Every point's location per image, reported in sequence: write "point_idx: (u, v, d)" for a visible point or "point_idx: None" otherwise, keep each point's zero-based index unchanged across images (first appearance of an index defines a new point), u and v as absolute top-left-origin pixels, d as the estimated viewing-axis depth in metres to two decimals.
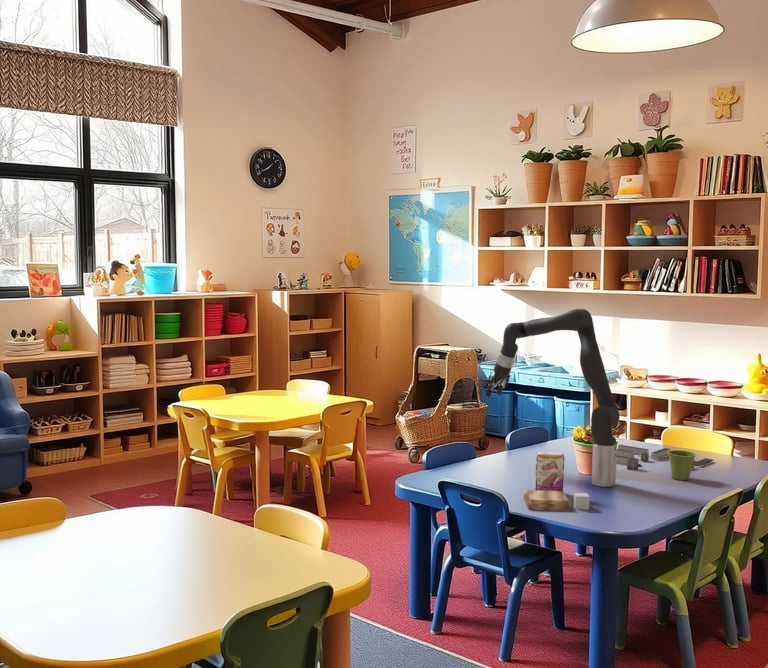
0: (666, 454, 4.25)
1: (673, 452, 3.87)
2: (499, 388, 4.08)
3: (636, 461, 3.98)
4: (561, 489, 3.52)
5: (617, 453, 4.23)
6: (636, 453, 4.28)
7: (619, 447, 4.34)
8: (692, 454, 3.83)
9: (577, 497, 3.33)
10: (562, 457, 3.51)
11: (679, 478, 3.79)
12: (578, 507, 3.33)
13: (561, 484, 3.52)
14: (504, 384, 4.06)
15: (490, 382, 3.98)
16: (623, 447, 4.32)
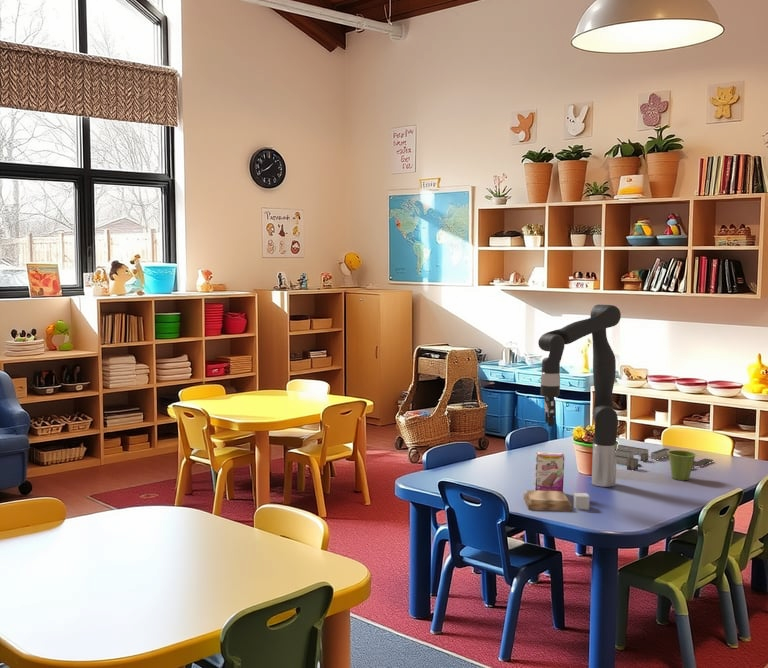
0: (666, 454, 4.25)
1: (673, 452, 3.87)
2: (547, 415, 3.57)
3: (636, 461, 3.98)
4: (561, 489, 3.52)
5: (617, 453, 4.23)
6: (635, 453, 4.28)
7: (619, 447, 4.34)
8: (692, 454, 3.83)
9: (577, 497, 3.33)
10: (562, 457, 3.51)
11: (679, 478, 3.79)
12: (578, 507, 3.33)
13: (561, 484, 3.52)
14: None
15: (553, 408, 3.46)
16: (623, 447, 4.32)
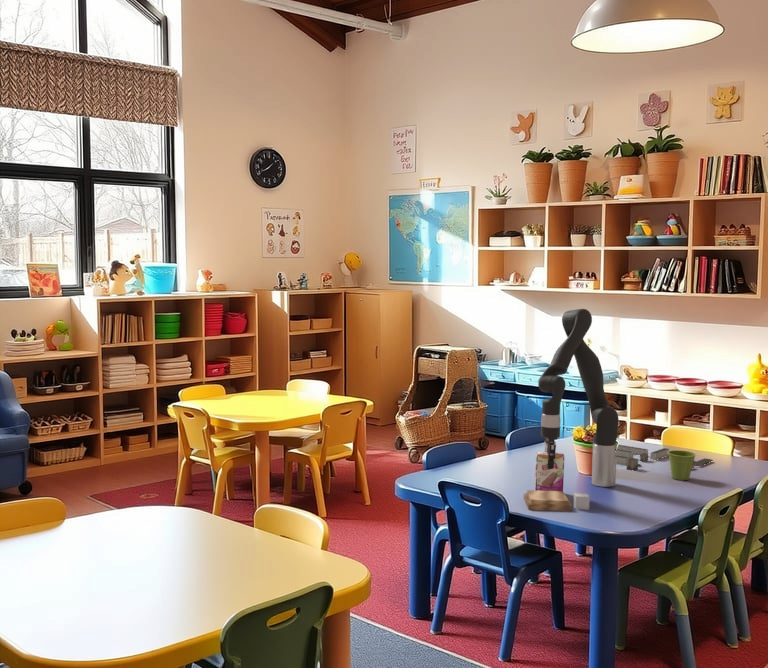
0: (665, 454, 4.25)
1: (673, 452, 3.87)
2: None
3: (636, 461, 3.98)
4: (561, 489, 3.52)
5: (616, 453, 4.23)
6: (635, 453, 4.28)
7: (618, 447, 4.34)
8: (692, 454, 3.83)
9: (577, 497, 3.33)
10: (562, 457, 3.51)
11: (679, 478, 3.79)
12: (578, 507, 3.33)
13: (561, 484, 3.52)
14: None
15: (553, 452, 3.47)
16: (622, 447, 4.32)
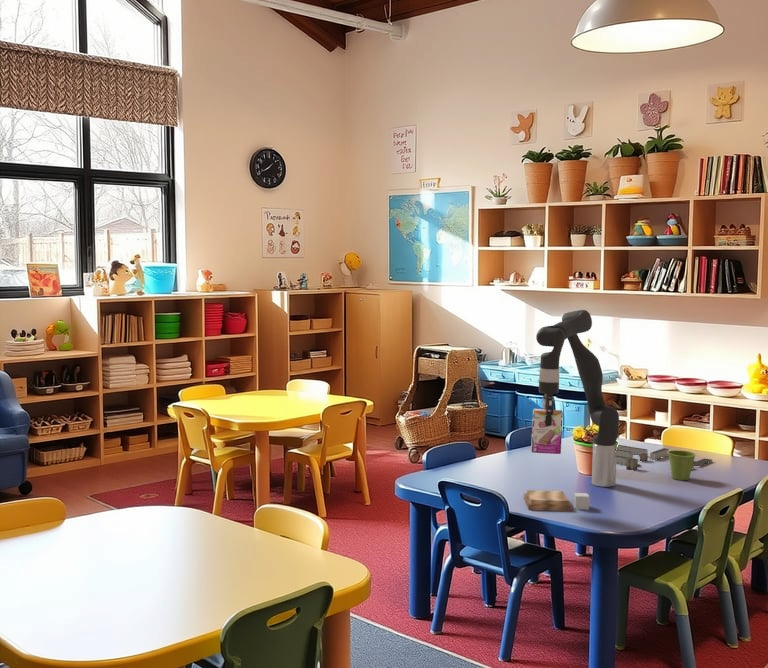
0: (665, 454, 4.25)
1: (673, 452, 3.87)
2: None
3: (635, 461, 3.98)
4: (559, 447, 3.36)
5: (616, 453, 4.23)
6: (635, 454, 4.28)
7: (618, 447, 4.34)
8: (692, 454, 3.83)
9: (577, 497, 3.33)
10: (560, 414, 3.35)
11: (679, 478, 3.79)
12: (578, 507, 3.33)
13: (559, 442, 3.35)
14: None
15: (551, 407, 3.31)
16: (622, 447, 4.32)
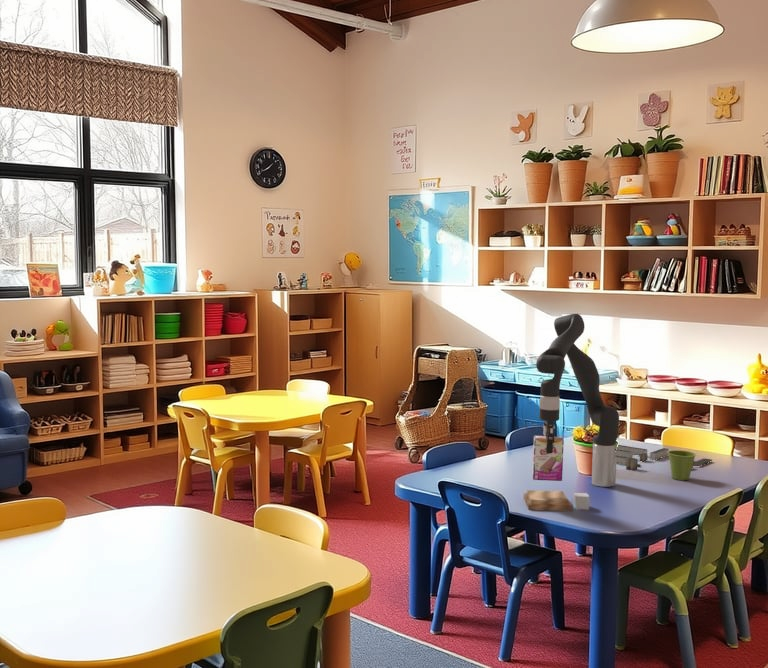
0: (665, 454, 4.25)
1: (673, 452, 3.87)
2: None
3: (635, 461, 3.98)
4: (560, 474, 3.36)
5: (616, 453, 4.23)
6: (634, 453, 4.28)
7: (618, 447, 4.33)
8: (692, 454, 3.83)
9: (577, 497, 3.33)
10: (561, 441, 3.35)
11: (679, 478, 3.79)
12: (578, 507, 3.33)
13: (560, 469, 3.36)
14: None
15: (552, 435, 3.31)
16: (622, 447, 4.32)
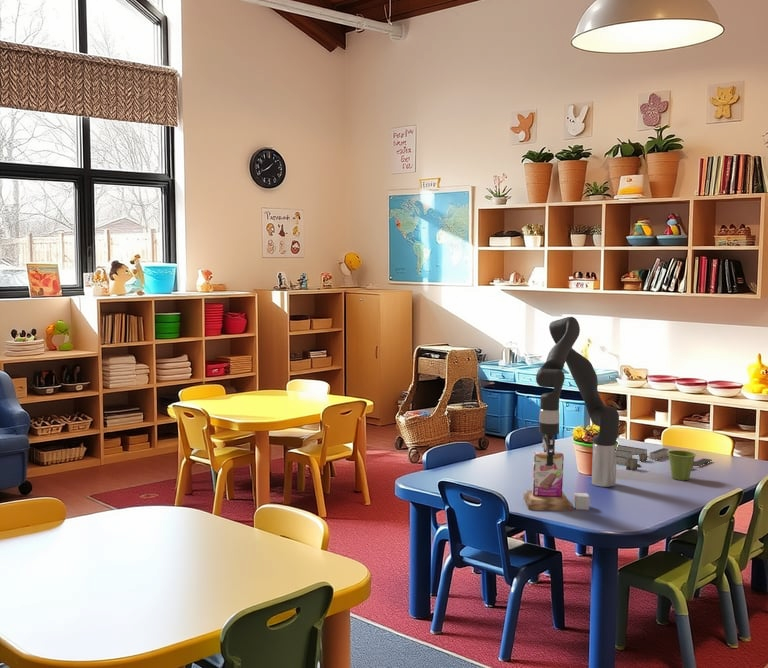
0: (664, 454, 4.25)
1: (673, 452, 3.87)
2: None
3: (635, 461, 3.98)
4: (560, 490, 3.36)
5: (615, 453, 4.23)
6: (634, 454, 4.28)
7: (617, 447, 4.33)
8: (692, 454, 3.83)
9: (577, 497, 3.33)
10: (561, 457, 3.35)
11: (679, 478, 3.79)
12: (578, 507, 3.33)
13: (560, 485, 3.36)
14: None
15: (552, 447, 3.30)
16: (621, 447, 4.32)
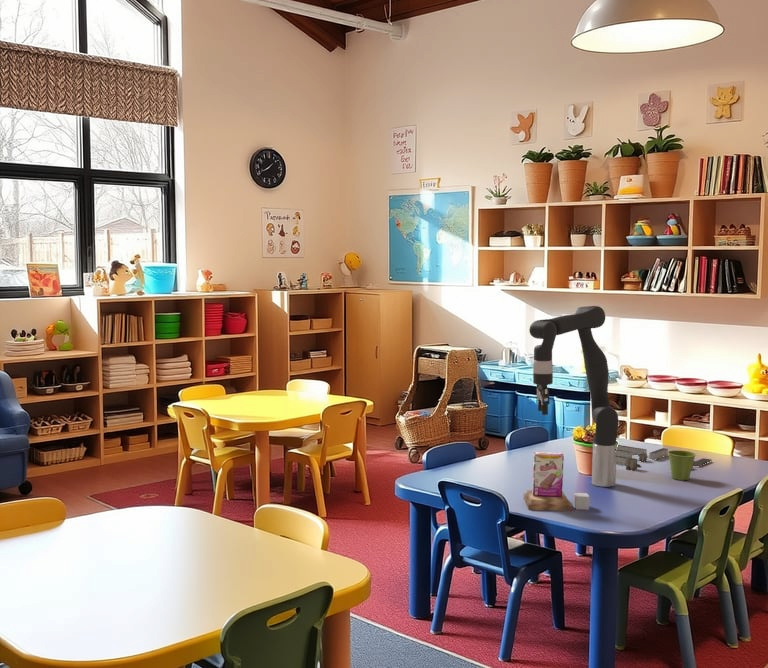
0: (664, 454, 4.25)
1: (673, 452, 3.87)
2: (540, 403, 3.51)
3: (635, 461, 3.98)
4: (560, 490, 3.36)
5: (615, 453, 4.23)
6: (634, 453, 4.28)
7: (617, 447, 4.33)
8: (692, 454, 3.83)
9: (577, 497, 3.33)
10: (561, 457, 3.35)
11: (679, 478, 3.79)
12: (578, 507, 3.33)
13: (560, 485, 3.36)
14: None
15: (547, 396, 3.40)
16: (621, 447, 4.32)
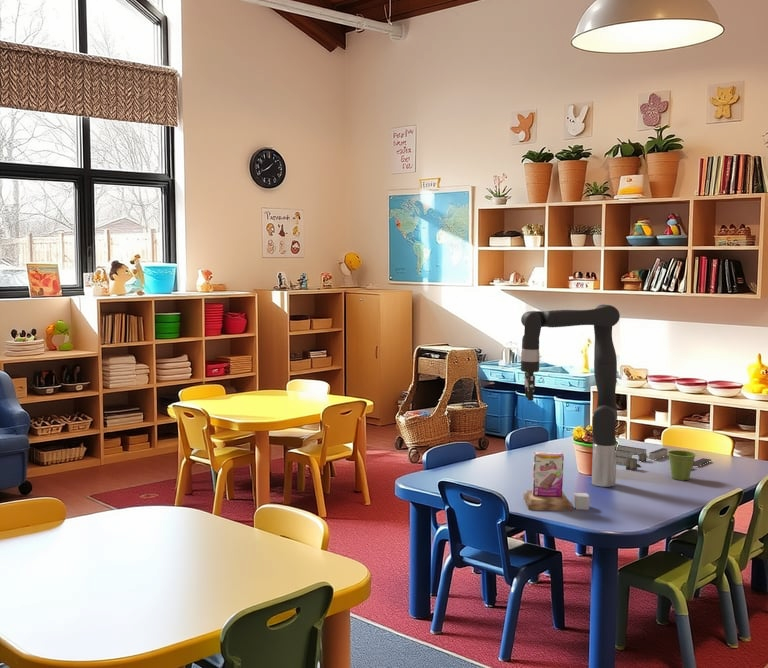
0: (664, 454, 4.25)
1: (673, 452, 3.87)
2: (527, 390, 3.70)
3: (635, 461, 3.98)
4: (560, 490, 3.36)
5: (615, 453, 4.23)
6: (633, 453, 4.28)
7: (617, 447, 4.33)
8: (692, 454, 3.83)
9: (577, 497, 3.33)
10: (561, 457, 3.35)
11: (679, 478, 3.79)
12: (578, 507, 3.33)
13: (560, 485, 3.36)
14: None
15: (533, 382, 3.59)
16: (621, 447, 4.32)
